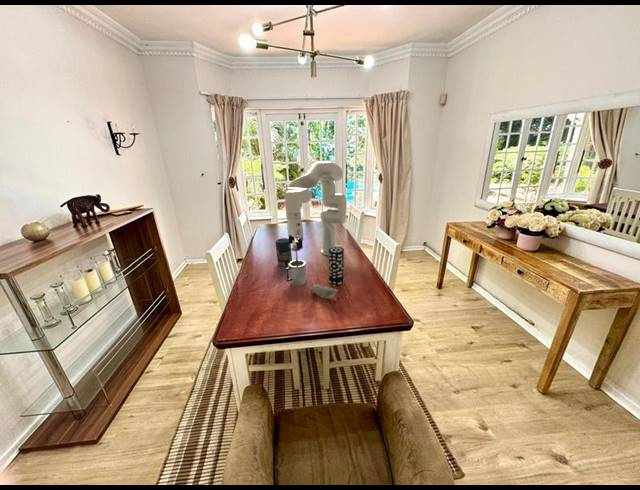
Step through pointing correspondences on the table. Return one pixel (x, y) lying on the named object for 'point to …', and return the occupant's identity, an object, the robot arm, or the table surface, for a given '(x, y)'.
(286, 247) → the canister
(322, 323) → the table surface
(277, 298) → the table surface
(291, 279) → the press carafe
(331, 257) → the spotted tube
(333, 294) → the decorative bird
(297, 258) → the plunger
